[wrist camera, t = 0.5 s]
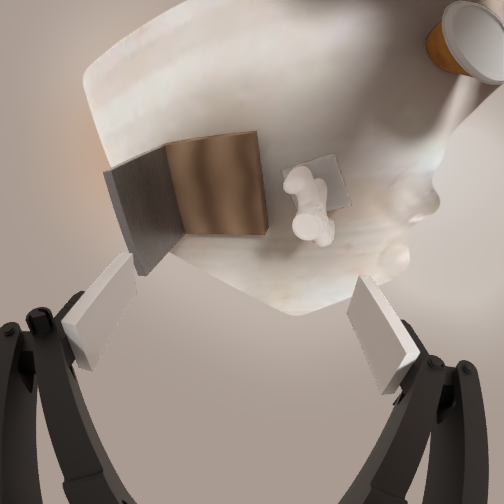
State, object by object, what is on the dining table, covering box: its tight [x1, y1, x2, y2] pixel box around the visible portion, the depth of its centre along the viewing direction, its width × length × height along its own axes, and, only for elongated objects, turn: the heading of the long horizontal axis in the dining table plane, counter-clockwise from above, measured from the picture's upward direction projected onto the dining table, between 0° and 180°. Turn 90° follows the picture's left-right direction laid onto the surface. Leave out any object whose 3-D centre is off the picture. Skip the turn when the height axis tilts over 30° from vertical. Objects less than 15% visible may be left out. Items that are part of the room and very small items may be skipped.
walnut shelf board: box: [158, 131, 268, 235], centre depth 41 cm, size 15×15×2 cm
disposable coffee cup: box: [426, 0, 504, 85], centre depth 16 cm, size 10×10×12 cm
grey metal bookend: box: [103, 146, 186, 276], centre depth 37 cm, size 2×15×12 cm, turn 7°
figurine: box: [280, 153, 352, 247], centre depth 31 cm, size 7×9×15 cm
